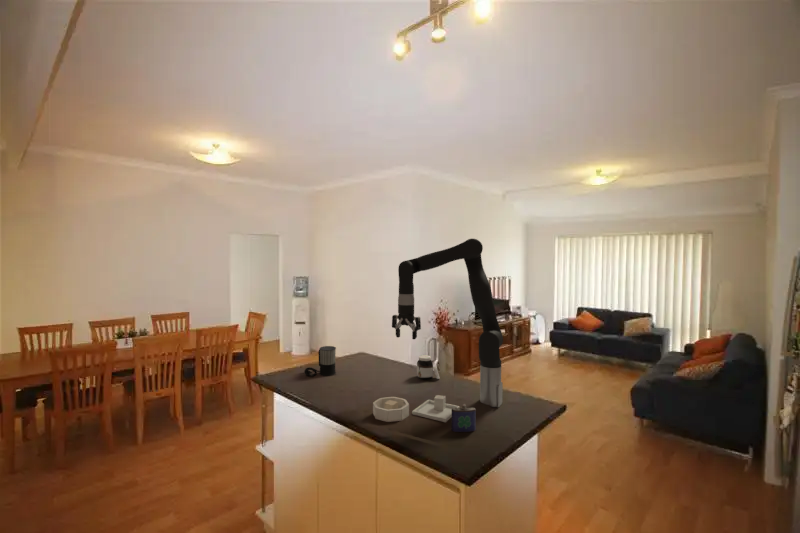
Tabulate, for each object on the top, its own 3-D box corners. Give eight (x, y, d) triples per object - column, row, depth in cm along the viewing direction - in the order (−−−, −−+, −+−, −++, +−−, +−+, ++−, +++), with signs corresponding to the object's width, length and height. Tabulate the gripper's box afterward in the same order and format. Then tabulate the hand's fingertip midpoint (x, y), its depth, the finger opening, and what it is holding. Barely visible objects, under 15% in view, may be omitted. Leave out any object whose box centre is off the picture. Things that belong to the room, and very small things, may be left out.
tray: (459, 411, 159) (459, 406, 159) (445, 424, 146) (445, 419, 146) (428, 404, 167) (428, 399, 167) (412, 416, 154) (412, 411, 154)
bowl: (413, 413, 156) (414, 401, 156) (396, 426, 144) (396, 412, 144) (385, 407, 163) (386, 394, 163) (367, 418, 151) (367, 405, 151)
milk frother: (339, 373, 212) (339, 347, 212) (319, 380, 199) (318, 352, 199) (321, 369, 220) (321, 344, 220) (300, 375, 207) (300, 349, 207)
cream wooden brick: (397, 413, 154) (397, 401, 154) (392, 417, 151) (393, 405, 151) (389, 411, 156) (389, 400, 156) (384, 415, 153) (384, 403, 153)
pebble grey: (445, 407, 160) (445, 396, 160) (443, 411, 157) (443, 399, 157) (436, 406, 162) (436, 394, 162) (434, 409, 158) (434, 398, 158)
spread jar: (414, 376, 207) (415, 355, 207) (433, 373, 211) (433, 353, 211) (423, 382, 196) (423, 360, 196) (442, 380, 200) (443, 358, 200)
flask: (474, 430, 141) (474, 402, 141) (476, 434, 138) (477, 405, 138) (450, 431, 141) (450, 403, 140) (452, 435, 138) (452, 406, 137)
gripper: (423, 303, 173) (423, 338, 173) (397, 301, 180) (397, 335, 181) (415, 305, 167) (415, 341, 167) (388, 303, 174) (388, 337, 174)
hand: (406, 338), depth 174 cm, fingers open, 8 cm apart
